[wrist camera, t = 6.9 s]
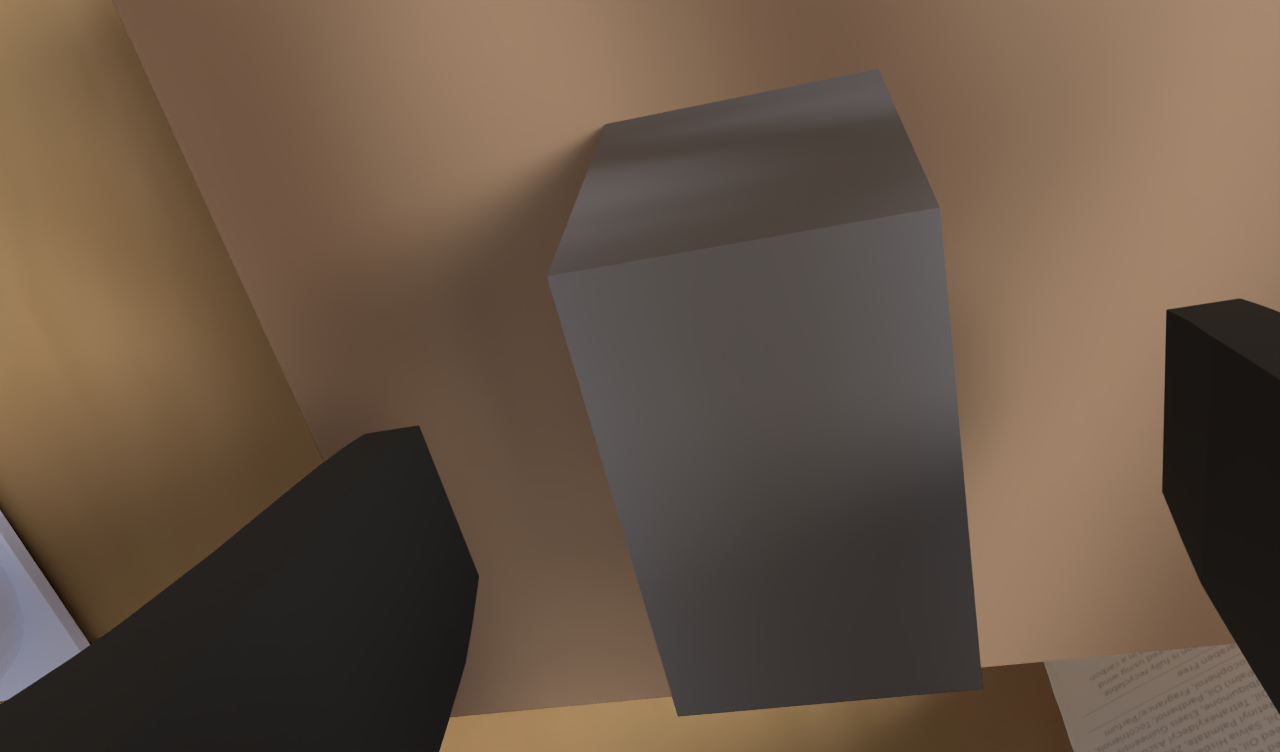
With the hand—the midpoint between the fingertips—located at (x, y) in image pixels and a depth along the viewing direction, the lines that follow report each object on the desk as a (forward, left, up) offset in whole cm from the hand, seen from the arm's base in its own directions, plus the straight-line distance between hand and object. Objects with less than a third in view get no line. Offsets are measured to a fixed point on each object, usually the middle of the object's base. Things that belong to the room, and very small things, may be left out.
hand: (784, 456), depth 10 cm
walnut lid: (0, 0, -4) cm, 4 cm away
